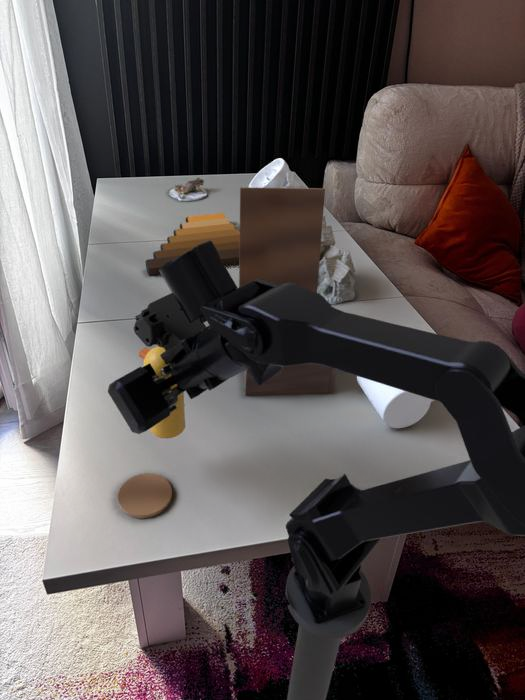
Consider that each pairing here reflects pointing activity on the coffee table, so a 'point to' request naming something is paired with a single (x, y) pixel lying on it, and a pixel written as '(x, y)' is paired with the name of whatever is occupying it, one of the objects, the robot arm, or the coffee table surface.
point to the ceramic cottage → (335, 270)
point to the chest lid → (281, 235)
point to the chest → (294, 381)
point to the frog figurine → (189, 191)
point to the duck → (176, 420)
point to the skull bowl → (275, 176)
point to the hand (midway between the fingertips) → (158, 387)
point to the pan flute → (198, 240)
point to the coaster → (145, 495)
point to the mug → (395, 403)
